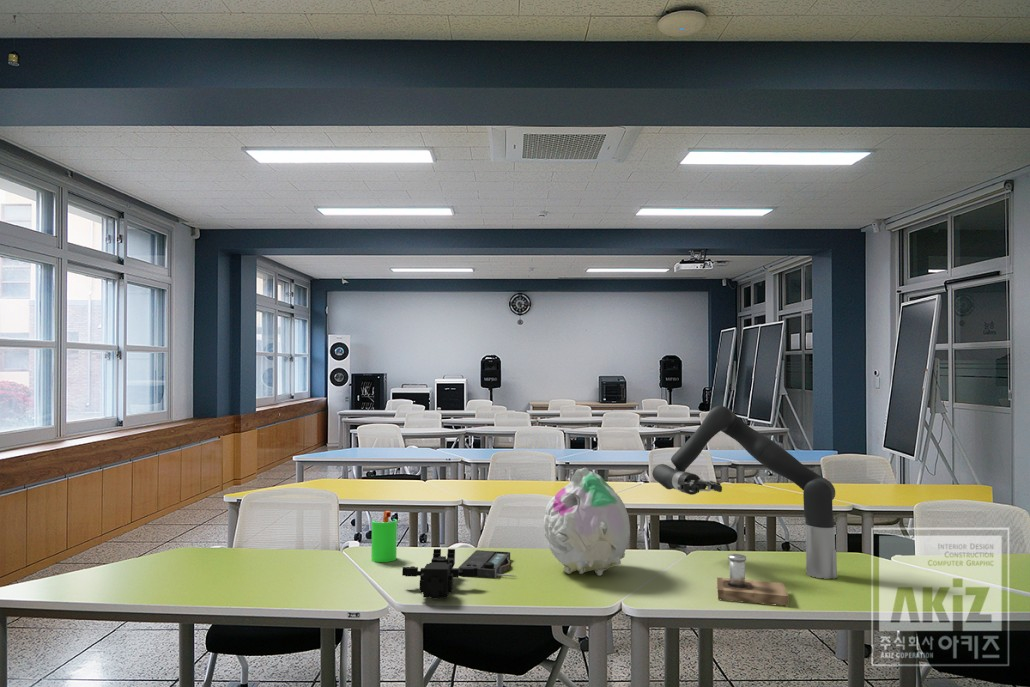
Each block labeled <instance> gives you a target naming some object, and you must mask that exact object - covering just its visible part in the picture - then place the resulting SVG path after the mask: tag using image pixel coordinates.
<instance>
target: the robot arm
mask: <svg viewBox="0 0 1030 687" xmlns="http://www.w3.org/2000/svg"><path fill="white" fill-rule="evenodd" d="M738 416H739V415H737V414H735V412H734V411H732V409H729V408H728V407H727V406H724V405H716V406H714V407H712V408H711V409H710V410H709V412H708V413H707V415H706V416H705V418H704V420H703V421H702V422H701V424H700V425H699V427H698V428H697V429H696V430H695V431H694V432H693V433H692V435H691V436H690V437H689V438H688V440H686V442H685V443H684V444H683V445H682V446H680V448H678V450H677V451H676V452H675V453H674V454H672V456H671V458H670V460H671V463H672V464H673V466H674V467H675V468H672V467H671V466H670V465H667V464H664V463H659V464H656V465H655V466H654V467H653V469H652V471H651V472H652V478H653V479H654V480H655V481H656V482H657V483H659V485H661V486H662V487H663V488H665V489H666V490H672V489H673V490H677V491H679V492H681V493H685V494H687V495H690V496H691V495H692V496H693V495H696V494H698V493H700V492H711V491H714V492H718V493H721V492H722V491H723V486H722V485H721V483H720V482H718V481H713V480H704V479H701V478H700V476H699V475H697V474H695V473H691V472H689V471H688V472H687V471H686V470H687V469H688V468H689V466H690V465H691V464H693V463H694V462H695V460H696V459H697V458H698V457H699V456H700V455H701V452H702V451H703V450H704V448H705V447H706V446H707V444H708V443H710V440H712V438H713V437H715V436H717V435H718V434H719V433H720V432H722V433H724V434H725V435H727V436H729V437H730V438H732V439H733V440H734V441H735V442H737V443H738V444H739V445H740V446H741V447H743V449H744V450H745V451H746V452H747V453H748V454H749V455H750V456H751V457H752V458H754V459H755V460H756V461H757V462H759V463H760V464H762V466H764V467H766V468H767V469H768V470H770V471H772V472H773V473H775V474H777V475H779V476H781V477H783V478H786V479H787V480H790V481H791V482H792V483H794V484H795V485H796V486H798V487H799V488H800V489H801V490H802V491H803V498H802V499H803V514H804V515H803V516H804V518H805V557H806V558H805V561H806V562H805V564H806V565H805V566H806V567H805V568H806V575H807V576H809V577H811V576H812V578H815V577H816V579H821V578H824V579H825V580H831V579H830V578H833V579H835V578H838V569H837V568H838V567H837V566H838V565H837V563H838V562H837V561H838V560H837V550H836V539H835V538H836V536H835V535H836V534H835V530H836V529H835V525H836V524H835V518H834V515H833V514H834V513H833V512H834V510H833V500H834V499H835V498H836V489H835V486H834V485H833V484H832V483H831V481H830V480H828V479H826V478H825V477H823V476H822V475H820V474H818V473H816V472H815V471H813V470H812V469H810V468H808V467H807V466H805V465H804V464H803V463H802V462H800V461H799V460H798V459H797V458H795V456H793V455H792V454H791V453H789V452H788V451H787V450H786V449H784V448H783V447H782V446H780V445H779V444H778V443H776V442H775V441H773V440H772V439H771V438H769V437H767V436H766V435H764V434H763V433H761V432H759V431H757V430H755V429H754V428H752V427H751V426H749V425H748V424H747V423H745V421H743V420H742V419H741V418H740V417H738Z"/></svg>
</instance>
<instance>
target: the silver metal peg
mask: <svg viewBox="0 0 1030 687" xmlns="http://www.w3.org/2000/svg"><path fill="white" fill-rule="evenodd" d="M727 555H728V556H727V558H728V561H729V578H730V586H731V587H735V588H745V580H746V561H747V556H746V555H745V554H740V553H729V554H727Z"/></svg>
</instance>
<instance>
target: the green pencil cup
mask: <svg viewBox="0 0 1030 687" xmlns="http://www.w3.org/2000/svg"><path fill="white" fill-rule="evenodd" d="M391 517H392V514H391V511H390V510H385V511H384V512H383V517H382V522H378V521H374V520H371V552H370V553H371V558H370V559H371V561H372V562H374V563H389V562H393V561H395V560H397V554H398V553H397V550H398V548H397V546H398V545H397V541H398V539H397V538H398V537H397V536H398V534H397V533H398V520H397V519H396V518H392V521H389V518H391Z"/></svg>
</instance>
